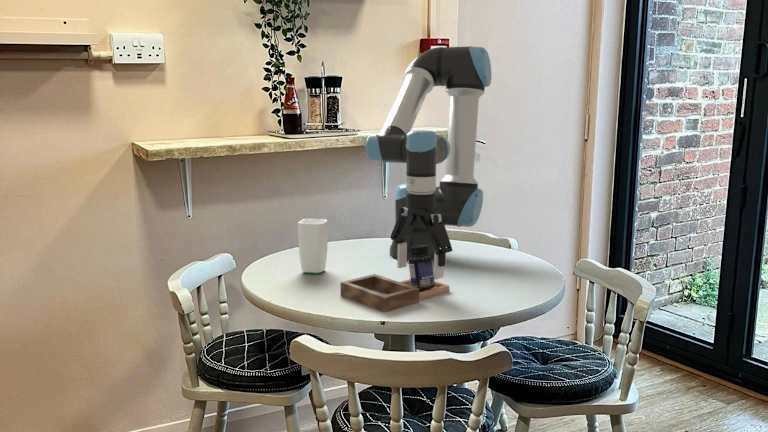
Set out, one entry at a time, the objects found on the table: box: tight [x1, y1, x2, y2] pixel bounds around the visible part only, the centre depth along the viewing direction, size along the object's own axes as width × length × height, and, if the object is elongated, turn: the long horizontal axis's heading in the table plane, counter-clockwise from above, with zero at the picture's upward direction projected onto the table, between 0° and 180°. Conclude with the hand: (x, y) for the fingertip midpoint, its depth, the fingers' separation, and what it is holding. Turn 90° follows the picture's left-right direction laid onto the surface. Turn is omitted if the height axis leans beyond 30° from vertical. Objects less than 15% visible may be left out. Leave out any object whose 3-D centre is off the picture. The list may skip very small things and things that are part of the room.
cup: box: [297, 218, 329, 275], centre depth 193 cm, size 7×7×15 cm
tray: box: [400, 278, 450, 301], centre depth 177 cm, size 11×11×2 cm
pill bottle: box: [407, 245, 436, 290], centre depth 175 cm, size 6×6×11 cm
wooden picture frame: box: [339, 273, 420, 313], centre depth 170 cm, size 17×12×4 cm
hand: (419, 272), depth 176 cm, fingers open, 13 cm apart
